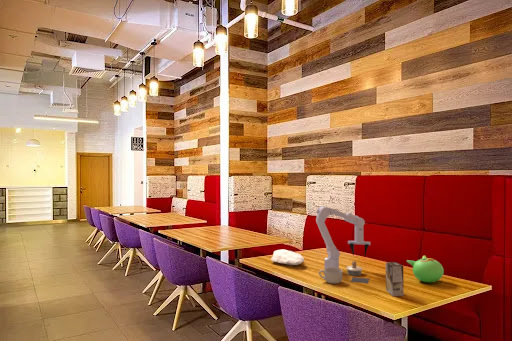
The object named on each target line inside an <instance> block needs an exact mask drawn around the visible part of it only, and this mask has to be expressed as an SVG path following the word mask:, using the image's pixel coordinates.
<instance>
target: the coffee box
mask: <svg viewBox="0 0 512 341" xmlns="http://www.w3.org/2000/svg"><path fill="white" fill-rule="evenodd" d="M404 287H405V286H404V265H402V264H400V263H398V262H396V261H395V262H394V261H388V262H385V291H386V292H388V294H389V295H391V296H392V297H403V296H404V294H405V291H404Z"/></svg>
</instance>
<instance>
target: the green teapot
mask: <svg viewBox="0 0 512 341" xmlns="http://www.w3.org/2000/svg"><path fill="white" fill-rule="evenodd" d="M406 263H408V264H409V265H411V266H412V274H413V275H414V277H415V278H416V279H417V280H419V281H421V282H423V283H435V282H438V281H440V280H441V279H442V278H443V276H444V271H445V270H444V267H443V265H442V264H441V263H440V262H439V261H437V260H436V259H434V258H431V257H430V258H428V257H427V256H426V255H423V256H422V258H420V259H417V260H416V261H415V260H410V259H409V260H408V259H407V260H406Z"/></svg>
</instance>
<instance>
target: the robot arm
mask: <svg viewBox="0 0 512 341" xmlns="http://www.w3.org/2000/svg"><path fill="white" fill-rule="evenodd" d="M333 215H335V216H338V217H340V218H342V219H344V221H345V222H348V223H349V224H353V225H354V240H348V241H347V244H348V245H349V247H350V250H351V253H352V256H354V255H355V245H361V246H362V245H363V246H364V247H363V248H364V254H363V255H364V257H366V256H367V250H368V248H369V246H371V241H365V240H364V238H365V237H364V225H365V224H366V221H365V220H364V218H362V217H359V216H358V215H357V214H356V215H354V214H352V212H345V213H344V212H342V211H340V210H338V209H335V208H331V207H327V206H324V205H322V206H321V205H320V206H319V207H318V208H317V210H316V218H315V222H316V224H317V227H318V229H319V232H320V234H321V237H322V238H323V240H324V241H323V242H324V244H325V247H326V253H327V255H328V257H325V258H324V261H323V262H324V265H323V266H324V270H325V269H326V268H339V269H340V255H341V251H339V249H337V247H336V246H335V244H334V241H333V240H332V239H333V238H332V236H331V235H330V232H329V230H328V227H327V226H326V223H325V222H326V220H327V218H328V217H329V216H333Z"/></svg>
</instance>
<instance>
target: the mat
mask: <svg viewBox="0 0 512 341" xmlns="http://www.w3.org/2000/svg"><path fill="white" fill-rule="evenodd" d="M369 281H370V278H367V277H357V276H353V277H352V278H351V279H350V283H357V284H358V283H361V284H369Z"/></svg>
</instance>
